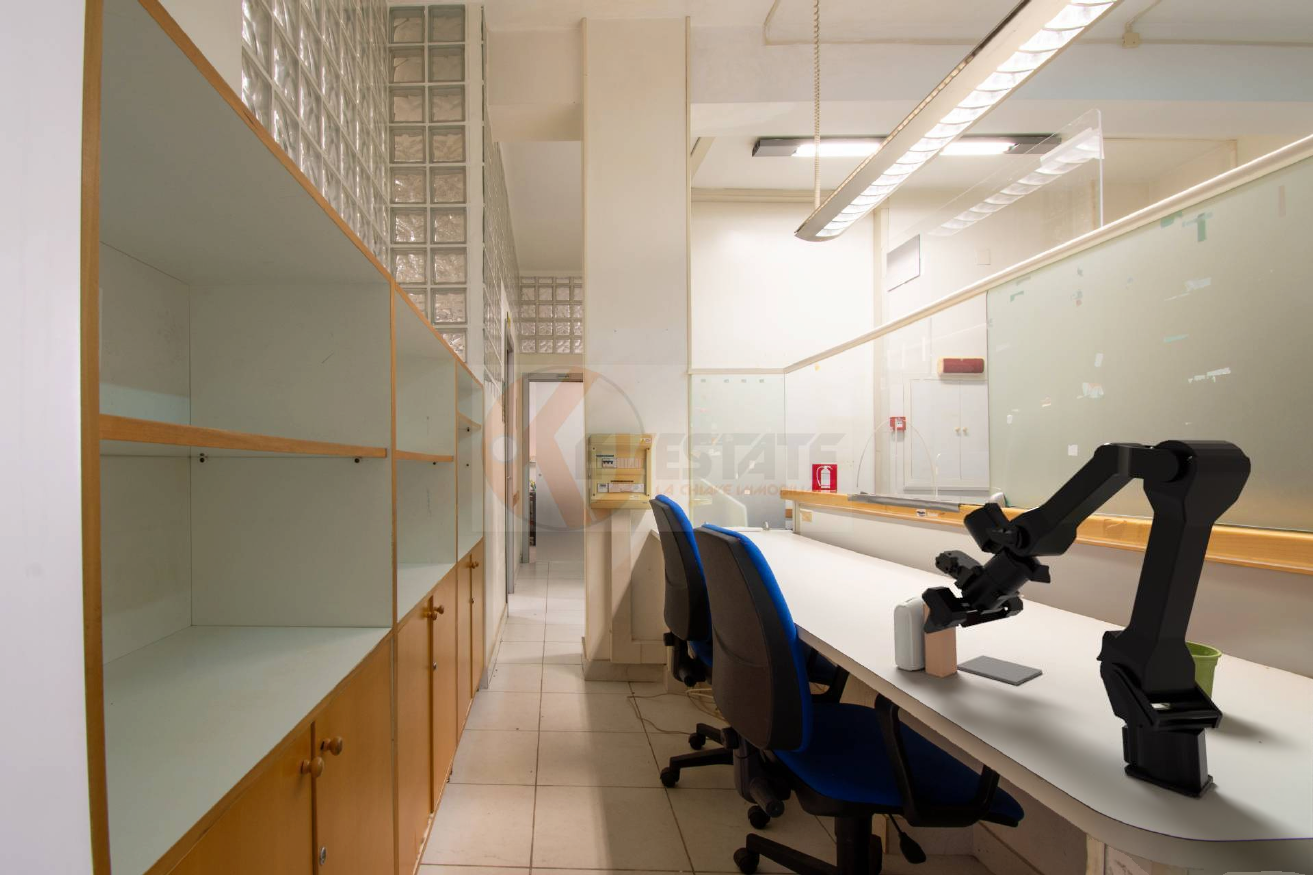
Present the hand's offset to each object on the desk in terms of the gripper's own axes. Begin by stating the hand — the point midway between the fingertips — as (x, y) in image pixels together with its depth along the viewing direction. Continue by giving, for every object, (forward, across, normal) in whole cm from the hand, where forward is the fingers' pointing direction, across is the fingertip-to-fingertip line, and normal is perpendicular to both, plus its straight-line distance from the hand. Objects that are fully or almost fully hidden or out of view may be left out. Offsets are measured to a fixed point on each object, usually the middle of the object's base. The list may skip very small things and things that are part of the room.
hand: (943, 628), depth 99 cm
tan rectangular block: (+6, 0, +5) cm, 8 cm away
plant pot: (-12, -21, +23) cm, 33 cm away
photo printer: (+9, 0, +2) cm, 10 cm away
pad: (+3, -10, +8) cm, 13 cm away
